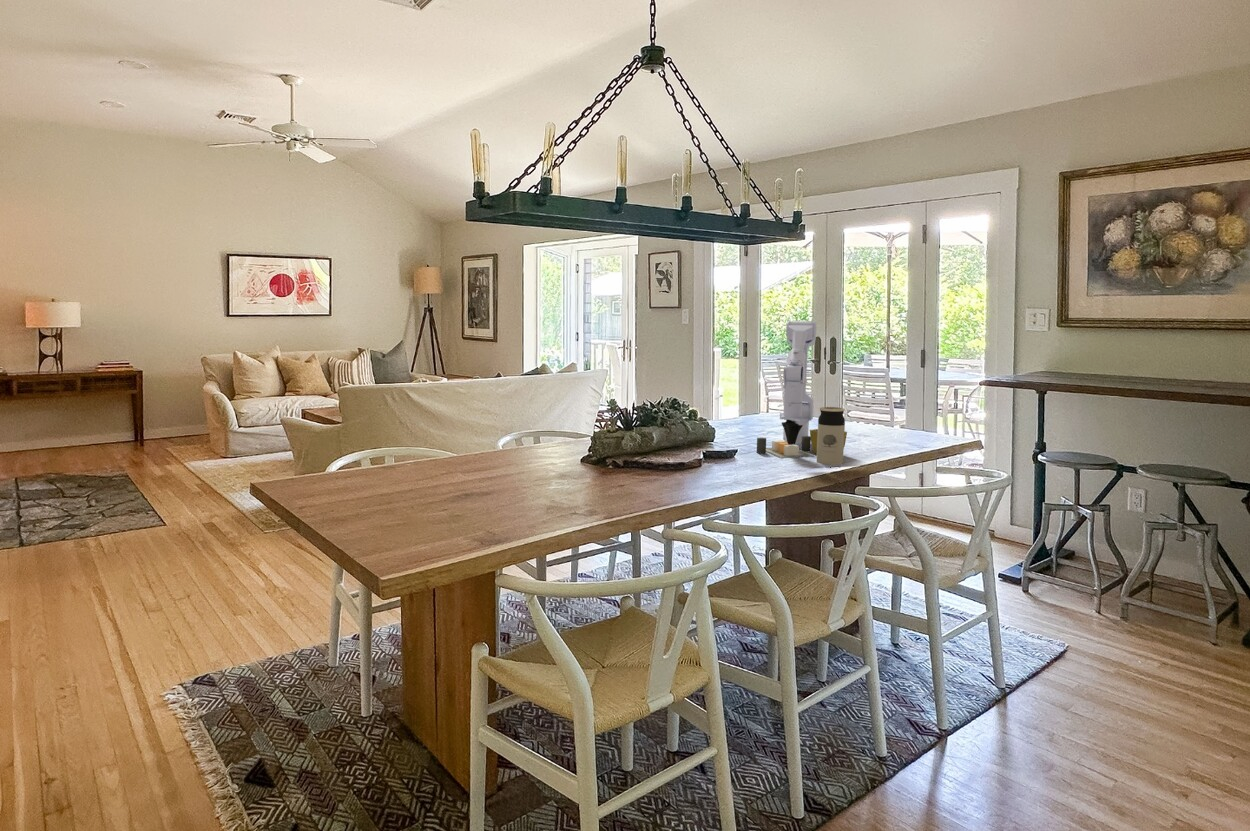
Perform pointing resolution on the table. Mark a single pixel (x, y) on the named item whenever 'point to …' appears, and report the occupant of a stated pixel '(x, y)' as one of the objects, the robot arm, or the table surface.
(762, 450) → the cord post
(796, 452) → the block
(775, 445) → the block
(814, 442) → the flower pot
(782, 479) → the table surface
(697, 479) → the table surface
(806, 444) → the cylinder
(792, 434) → the robot arm
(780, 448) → the block
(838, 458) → the travel mug
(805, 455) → the panel
